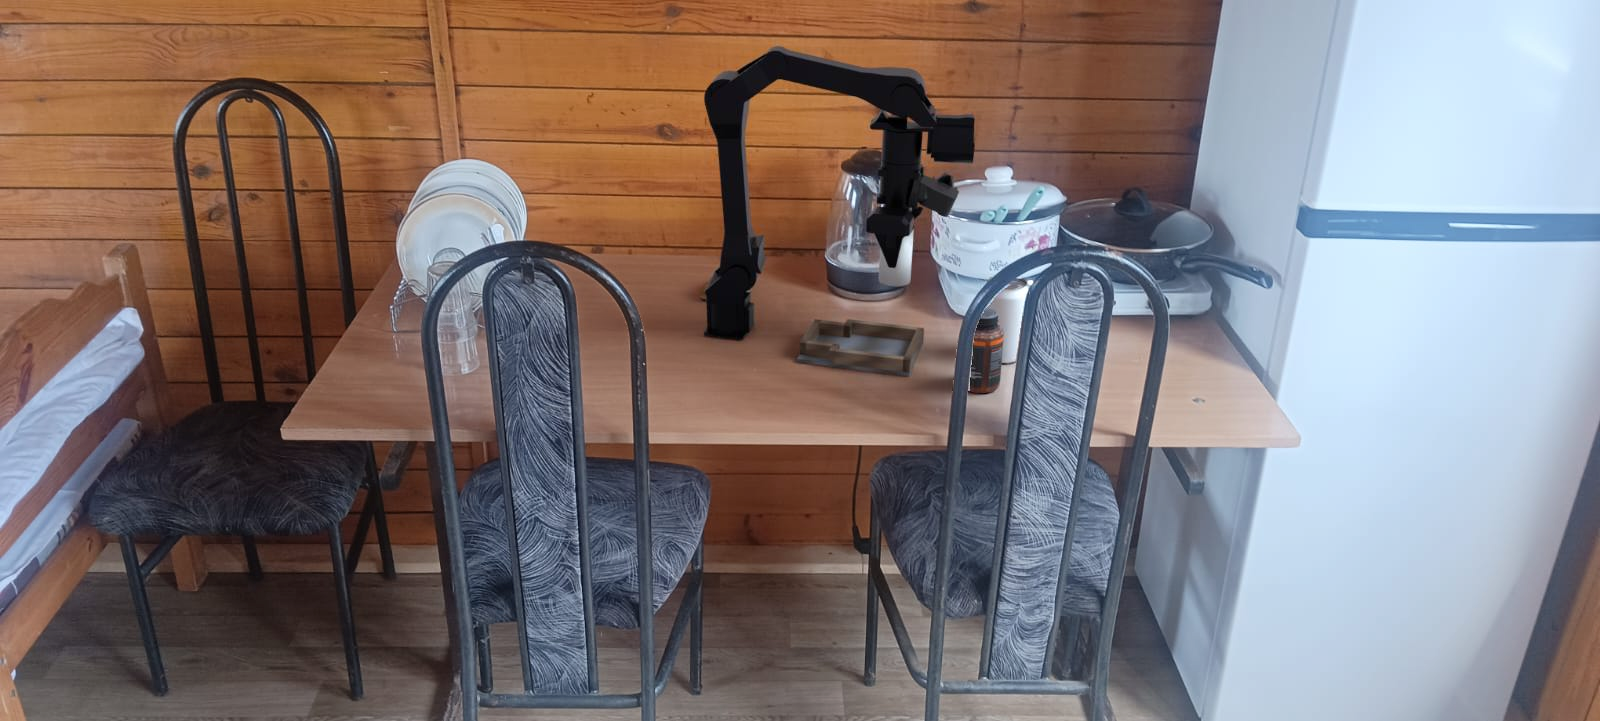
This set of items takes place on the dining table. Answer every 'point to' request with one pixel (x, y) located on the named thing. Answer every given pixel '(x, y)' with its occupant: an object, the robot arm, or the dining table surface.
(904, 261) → the peg
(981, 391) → the supplement bottle
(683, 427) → the dining table surface
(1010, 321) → the can
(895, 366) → the tray
